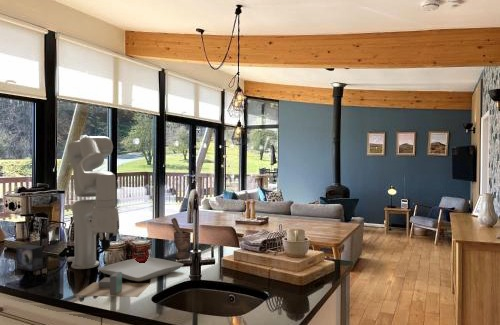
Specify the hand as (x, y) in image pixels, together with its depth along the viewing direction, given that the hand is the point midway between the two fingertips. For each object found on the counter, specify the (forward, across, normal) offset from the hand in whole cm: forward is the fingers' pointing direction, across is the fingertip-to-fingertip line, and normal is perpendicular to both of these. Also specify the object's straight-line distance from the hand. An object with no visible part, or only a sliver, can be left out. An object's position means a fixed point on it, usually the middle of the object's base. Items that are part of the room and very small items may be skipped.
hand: (105, 249), depth 168 cm
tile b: (+14, +8, -8) cm, 18 cm away
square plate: (+16, +9, +18) cm, 26 cm away
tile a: (+13, -1, -1) cm, 14 cm away
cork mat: (+15, +6, -5) cm, 17 cm away
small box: (+17, -46, +24) cm, 55 cm away
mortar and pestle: (+16, +19, +50) cm, 55 cm away
